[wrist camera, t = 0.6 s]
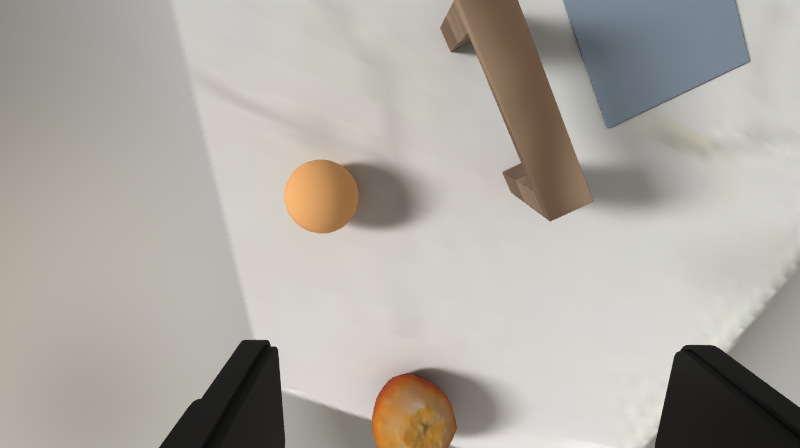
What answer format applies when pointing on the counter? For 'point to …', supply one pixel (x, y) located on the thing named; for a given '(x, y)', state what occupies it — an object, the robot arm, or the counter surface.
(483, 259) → the counter surface
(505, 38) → the bridge
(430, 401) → the fruit
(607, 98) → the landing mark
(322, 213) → the ball
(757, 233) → the counter surface
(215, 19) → the counter surface
